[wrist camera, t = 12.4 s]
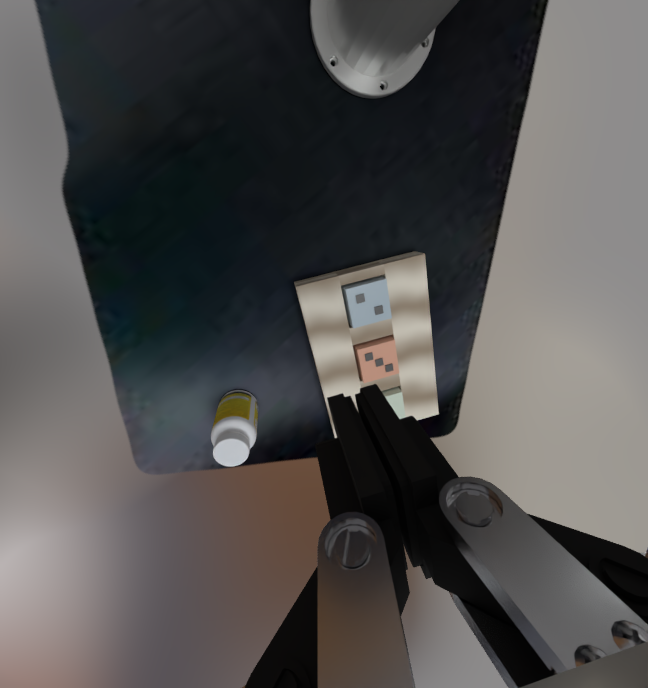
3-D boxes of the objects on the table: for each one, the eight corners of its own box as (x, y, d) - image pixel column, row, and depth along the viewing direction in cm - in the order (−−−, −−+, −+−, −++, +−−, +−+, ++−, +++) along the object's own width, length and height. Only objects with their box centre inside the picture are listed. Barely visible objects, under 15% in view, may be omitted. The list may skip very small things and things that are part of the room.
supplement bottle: (210, 402, 43) (195, 450, 34) (242, 381, 43) (236, 424, 34) (234, 427, 46) (226, 479, 37) (265, 408, 45) (265, 455, 36)
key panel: (293, 282, 39) (295, 286, 36) (414, 251, 40) (424, 253, 38) (332, 431, 49) (336, 444, 46) (429, 403, 50) (438, 414, 47)
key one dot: (361, 390, 45) (367, 402, 43) (394, 381, 46) (402, 392, 43) (367, 418, 47) (373, 431, 45) (398, 409, 48) (406, 421, 45)
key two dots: (340, 284, 39) (346, 289, 36) (378, 274, 39) (386, 279, 37) (347, 321, 41) (353, 329, 38) (383, 311, 41) (392, 318, 39)
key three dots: (351, 341, 42) (357, 350, 39) (386, 332, 43) (395, 340, 40) (357, 373, 44) (364, 384, 41) (391, 363, 45) (400, 373, 42)
